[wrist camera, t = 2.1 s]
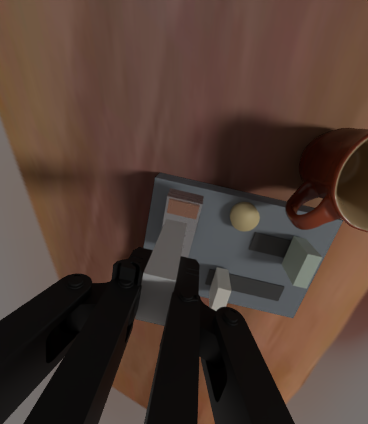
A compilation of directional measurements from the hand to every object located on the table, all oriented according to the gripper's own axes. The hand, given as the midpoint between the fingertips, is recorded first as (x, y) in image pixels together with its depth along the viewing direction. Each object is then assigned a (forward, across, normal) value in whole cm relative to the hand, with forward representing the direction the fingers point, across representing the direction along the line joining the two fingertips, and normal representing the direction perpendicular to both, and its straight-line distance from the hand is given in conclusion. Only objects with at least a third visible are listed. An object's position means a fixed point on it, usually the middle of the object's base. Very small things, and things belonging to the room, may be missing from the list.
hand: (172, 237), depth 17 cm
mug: (+14, +14, +6) cm, 21 cm away
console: (+14, +7, -6) cm, 17 cm away
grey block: (+10, +14, -4) cm, 18 cm away
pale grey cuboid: (+10, +7, -10) cm, 16 cm away
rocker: (+8, 0, -3) cm, 8 cm away
